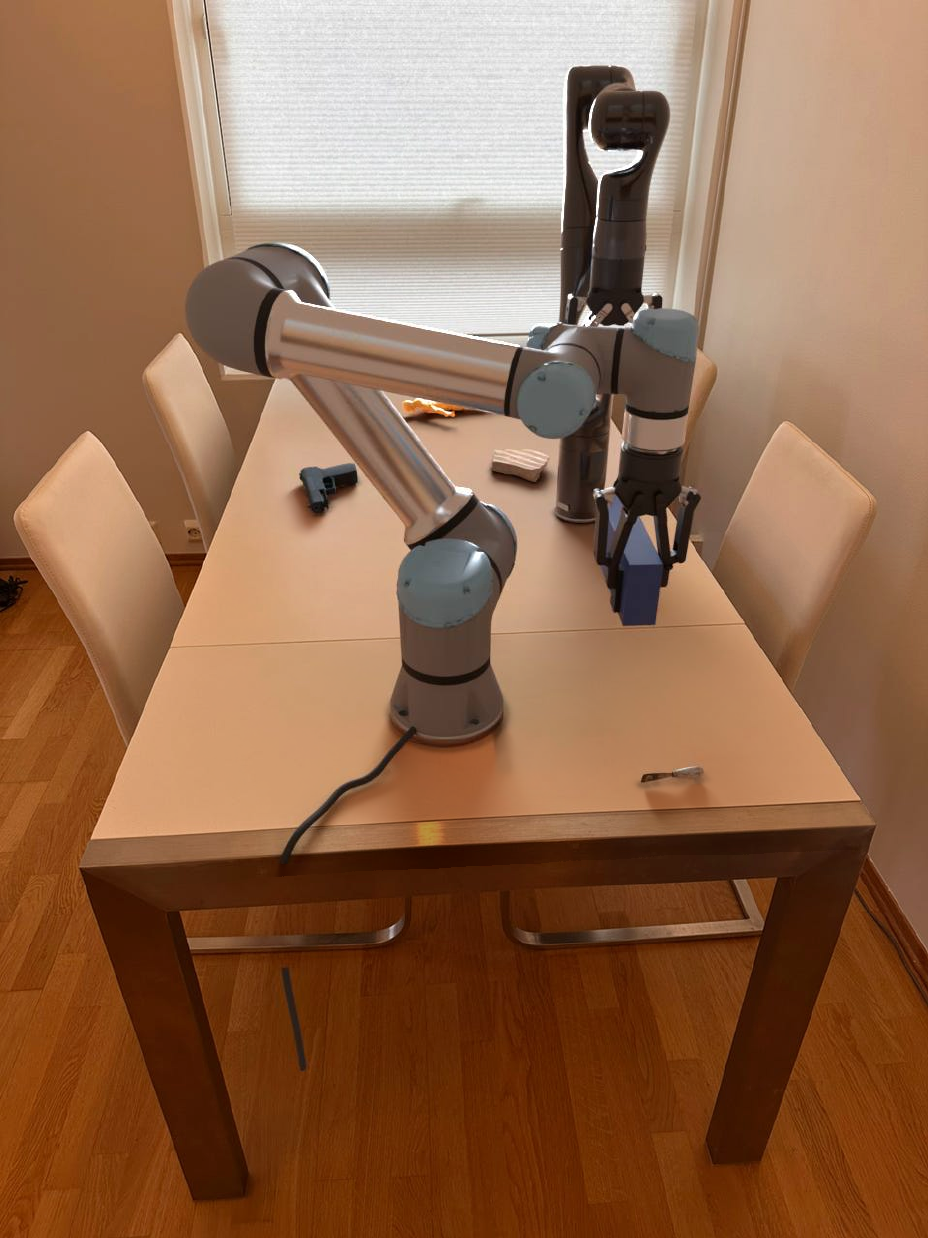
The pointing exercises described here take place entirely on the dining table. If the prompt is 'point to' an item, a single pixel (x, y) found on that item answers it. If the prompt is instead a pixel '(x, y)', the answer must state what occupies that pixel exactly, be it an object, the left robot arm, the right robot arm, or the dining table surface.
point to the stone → (519, 462)
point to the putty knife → (674, 774)
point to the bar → (636, 572)
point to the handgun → (325, 483)
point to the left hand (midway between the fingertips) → (633, 606)
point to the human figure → (429, 407)
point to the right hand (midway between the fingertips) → (609, 364)
